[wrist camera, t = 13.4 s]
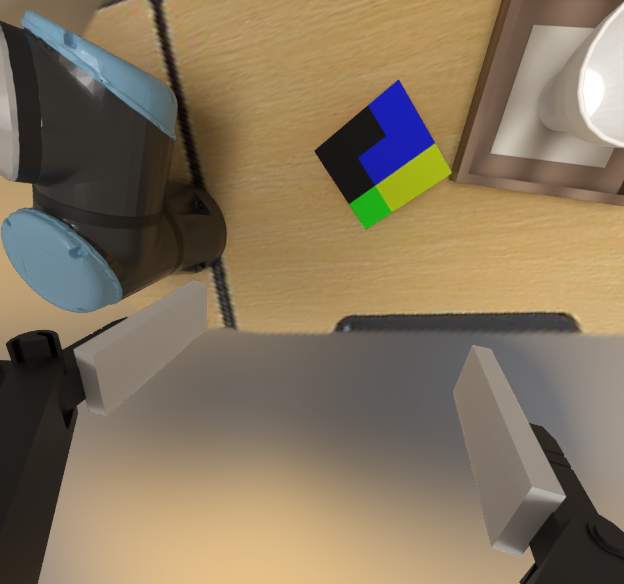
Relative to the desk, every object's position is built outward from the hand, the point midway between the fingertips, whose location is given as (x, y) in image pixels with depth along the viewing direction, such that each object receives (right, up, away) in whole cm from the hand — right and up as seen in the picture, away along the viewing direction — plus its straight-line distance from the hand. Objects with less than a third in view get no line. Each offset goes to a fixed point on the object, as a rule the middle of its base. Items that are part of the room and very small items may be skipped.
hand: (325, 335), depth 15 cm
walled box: (+27, +23, +18) cm, 40 cm away
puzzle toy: (+9, +19, +25) cm, 33 cm away
